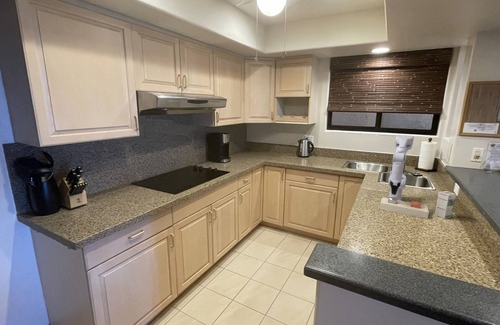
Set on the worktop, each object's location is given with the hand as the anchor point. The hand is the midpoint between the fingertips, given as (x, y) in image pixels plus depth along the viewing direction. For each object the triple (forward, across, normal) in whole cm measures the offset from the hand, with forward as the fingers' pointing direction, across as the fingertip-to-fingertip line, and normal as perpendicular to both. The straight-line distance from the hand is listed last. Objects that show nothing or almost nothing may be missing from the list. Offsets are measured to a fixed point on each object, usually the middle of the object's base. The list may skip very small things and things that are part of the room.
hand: (393, 193), depth 150 cm
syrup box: (+10, -4, +26) cm, 28 cm away
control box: (+9, 0, +6) cm, 11 cm away
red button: (+8, 0, +12) cm, 14 cm away
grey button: (+8, 0, 0) cm, 8 cm away
